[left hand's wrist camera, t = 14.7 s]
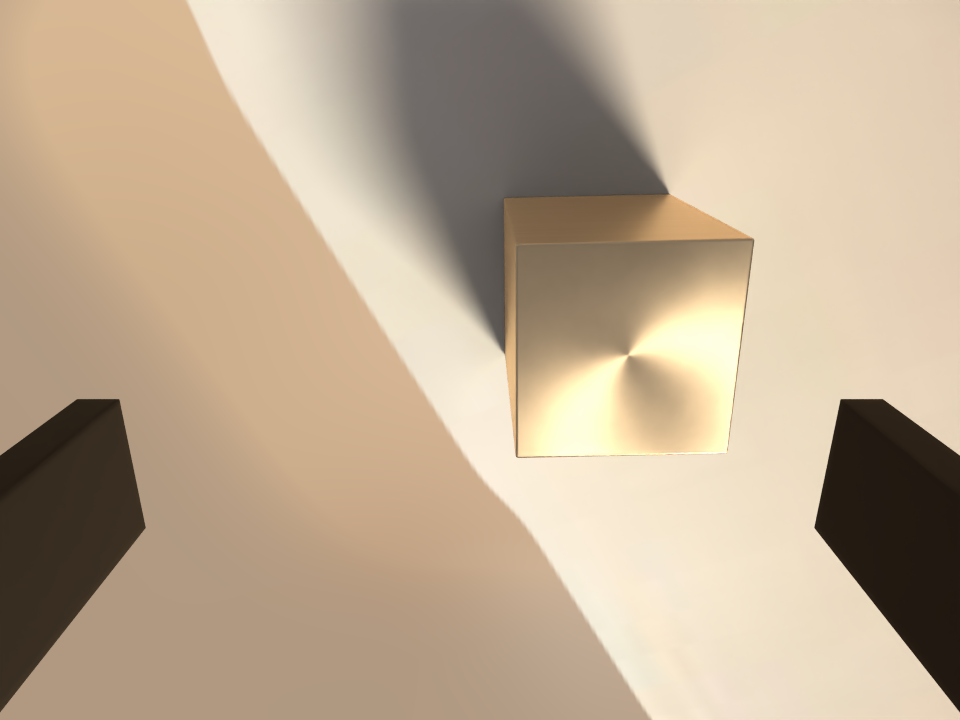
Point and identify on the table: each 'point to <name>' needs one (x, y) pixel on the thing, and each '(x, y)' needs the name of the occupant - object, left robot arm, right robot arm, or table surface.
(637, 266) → the block
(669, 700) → the table surface
